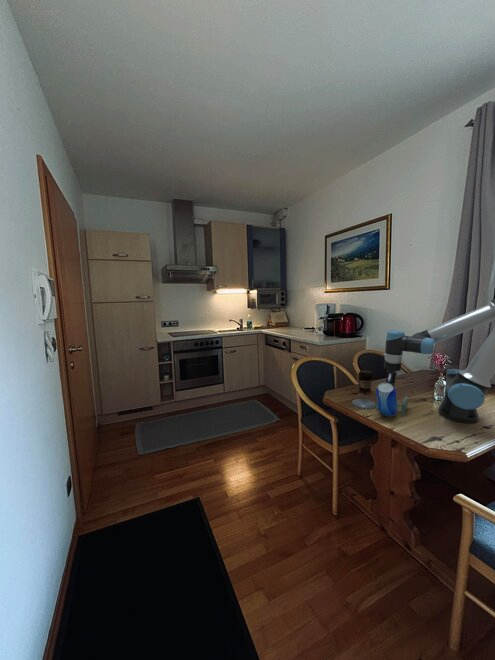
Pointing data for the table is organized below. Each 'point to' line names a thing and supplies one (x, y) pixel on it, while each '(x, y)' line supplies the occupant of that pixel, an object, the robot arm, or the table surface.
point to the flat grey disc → (364, 404)
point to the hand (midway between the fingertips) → (388, 405)
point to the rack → (404, 405)
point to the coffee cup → (365, 381)
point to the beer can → (387, 399)
